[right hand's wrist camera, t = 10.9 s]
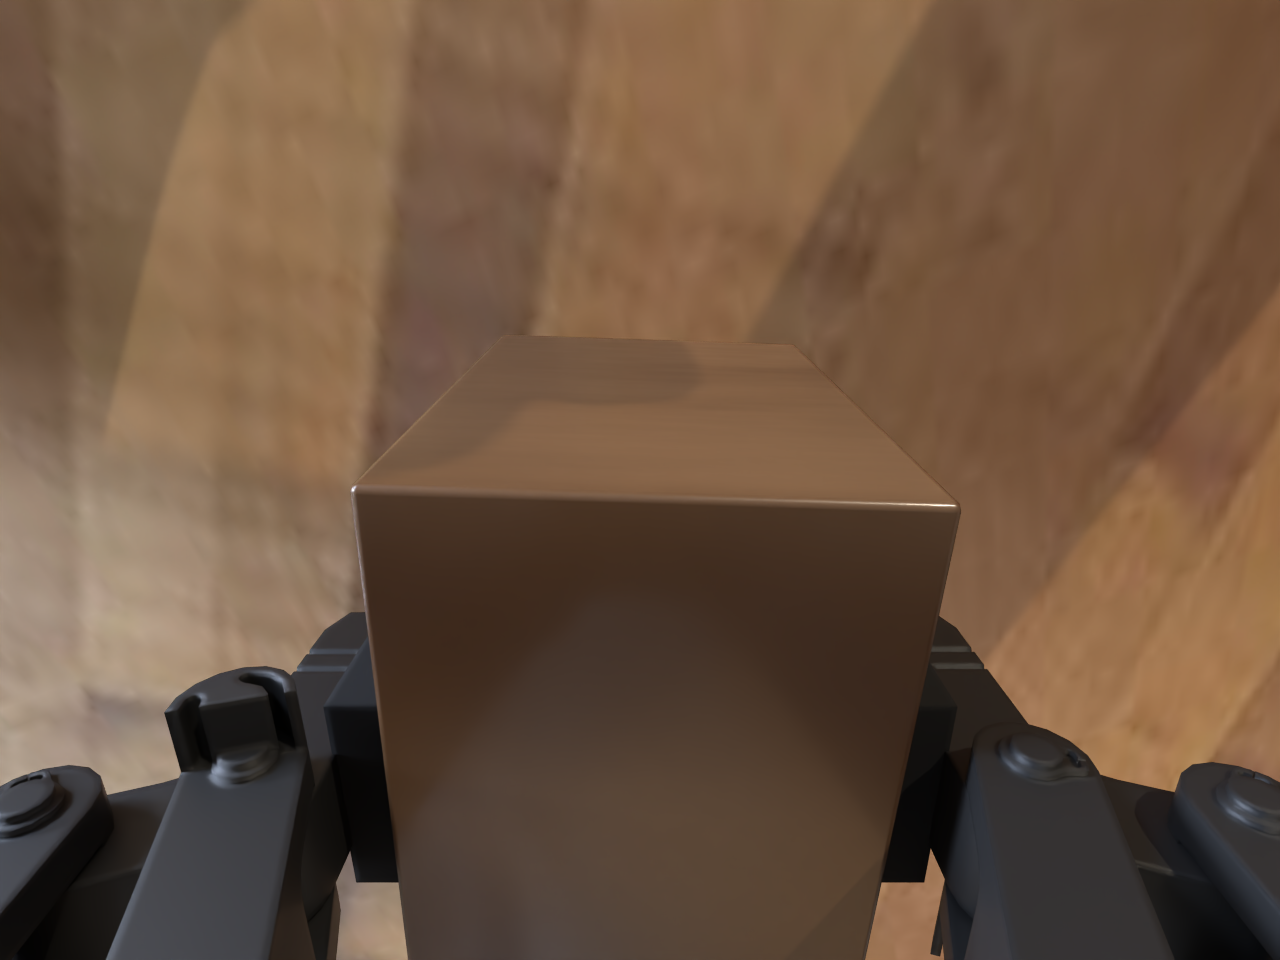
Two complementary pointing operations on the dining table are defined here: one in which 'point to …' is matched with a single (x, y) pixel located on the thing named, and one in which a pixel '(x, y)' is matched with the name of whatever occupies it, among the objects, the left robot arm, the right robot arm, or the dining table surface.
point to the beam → (646, 652)
